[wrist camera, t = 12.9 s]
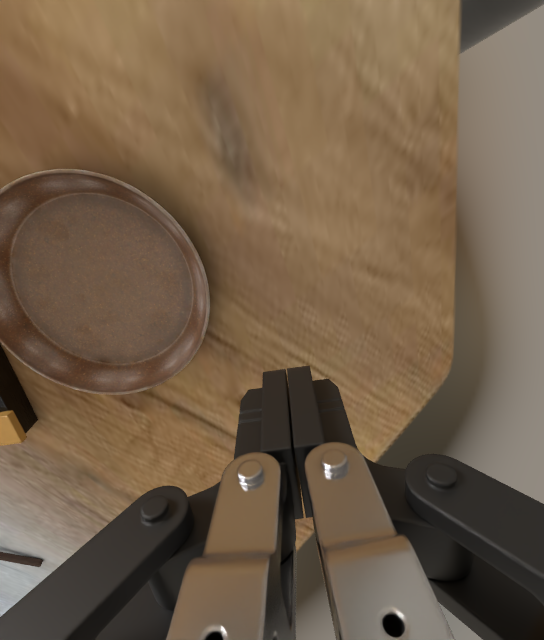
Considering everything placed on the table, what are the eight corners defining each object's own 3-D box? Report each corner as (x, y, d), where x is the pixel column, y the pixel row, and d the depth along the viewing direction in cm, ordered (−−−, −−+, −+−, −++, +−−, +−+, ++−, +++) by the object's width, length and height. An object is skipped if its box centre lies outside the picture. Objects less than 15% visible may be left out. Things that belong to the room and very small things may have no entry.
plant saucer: (137, 410, 34) (125, 431, 32) (-44, 293, 30) (-76, 306, 27) (259, 276, 30) (258, 288, 27) (65, 110, 25) (39, 103, 22)
